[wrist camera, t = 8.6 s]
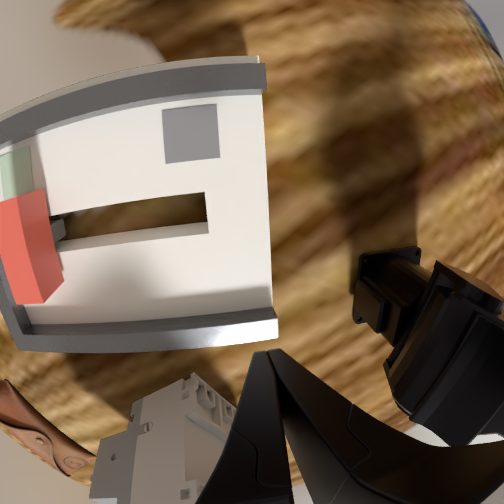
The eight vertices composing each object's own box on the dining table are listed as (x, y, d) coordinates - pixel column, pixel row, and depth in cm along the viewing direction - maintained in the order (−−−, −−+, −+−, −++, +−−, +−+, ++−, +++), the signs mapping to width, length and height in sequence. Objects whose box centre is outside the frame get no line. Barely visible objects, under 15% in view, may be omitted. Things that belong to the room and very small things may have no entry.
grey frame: (259, 70, 13) (265, 63, 12) (273, 325, 19) (278, 337, 17) (-22, 140, 11) (-34, 140, 10) (26, 339, 16) (18, 350, 15)
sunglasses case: (103, 459, 27) (84, 491, 22) (85, 446, 31) (67, 474, 25) (4, 375, 21) (-22, 410, 15) (0, 369, 24) (-23, 399, 19)
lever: (62, 183, 15) (16, 196, 10) (78, 266, 17) (43, 303, 12) (36, 190, 15) (-11, 205, 10) (53, 269, 17) (16, 304, 12)
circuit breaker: (98, 416, 24) (75, 529, 10) (194, 372, 23) (200, 534, 9) (145, 448, 27) (139, 551, 13) (240, 411, 26) (266, 543, 12)
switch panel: (250, 69, 16) (258, 55, 13) (265, 314, 22) (273, 337, 19) (0, 127, 13) (-23, 127, 11) (44, 330, 20) (30, 350, 17)
